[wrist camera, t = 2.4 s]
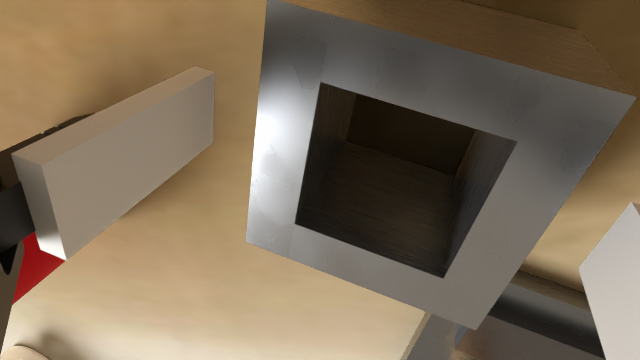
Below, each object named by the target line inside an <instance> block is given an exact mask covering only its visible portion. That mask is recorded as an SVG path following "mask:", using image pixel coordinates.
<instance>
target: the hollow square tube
mask: <svg viewBox="0 0 640 360" xmlns="http://www.w3.org/2000/svg"><path fill="white" fill-rule="evenodd" d="M357 93H359V94H362V95H365V96H369V97H372V98H375V99H378V100H382V101H385V102H388V103H392V104H395V105H398V106H402V107H405V108H408V109H412V110H415V111H418V112H422V113H425V114H428V115H431V116H435V117H438V118H441V119H445V120H448V121H451V122H455V123H458V124H461V125H465V126H468V127H471V128H475V129H476V130H475V132H474V134H473V136H472V139H471V141H470V143H469V145H468V147H467V150H466V152H465V154H464V156H463V158H462V160H461V163H460V165H459V167H458V169H457V171H456V174H455V176H453V175H450V174H446V173H443V172H440V171H437V170H434V169H431V168H428V167H425V166H422V165H419V164H416V163H413V162H409V161H406V160H403V159H400V158H397V157H394V156H391V155H388V154H385V153H382V152H379V151H376V150H372V149H369V148H366V147H363V146H360V145H357V144H354V143H351V142H348V141H346V137H347V132H348V128H349V124H350V120H351V116H352V112H353V108H354V104H355V100H356V96H357ZM636 99H637V96H636V95H635V94H634V93H633V92H632V91H631V90H630V88H629V87H628V86H627V85H626V84H625V83H624V82H623V80H622V79H621V78H620V77H619V76H618V75H617V74H616V72H615V71H614V70H613V69H612V68H611V67H610V66H609V64H608V63H607V62H606V61H605V60H604V59H603V58H602V56H601V55H600V54H599V53H598V52H597V51H596V50H595V48H594V47H593V46H592V45H591V44H590V43H589V42H588V40H587V39H586V38H585V37H584V36H583V35H582V34H581V32H580V31H579V30H575V29H572V28H568V27H564V26H560V25H556V24H552V23H548V22H544V21H540V20H536V19H532V18H528V17H524V16H520V15H516V14H512V13H508V12H504V11H500V10H496V9H492V8H488V7H484V6H480V5H476V4H472V3H468V2H464V1H460V0H267V7H266V18H265V30H264V41H263V52H262V64H261V75H260V86H259V98H258V109H257V120H256V132H255V143H254V154H253V166H252V177H251V188H250V200H249V211H248V222H247V234H246V242H247V243H250V244H253V245H255V246H258V247H260V248H263V249H265V250H268V251H271V252H273V253H276V254H278V255H281V256H284V257H286V258H289V259H291V260H294V261H297V262H299V263H302V264H304V265H307V266H310V267H312V268H315V269H317V270H320V271H323V272H325V273H328V274H330V275H333V276H336V277H338V278H341V279H343V280H346V281H348V282H351V283H354V284H356V285H359V286H361V287H364V288H367V289H369V290H372V291H374V292H377V293H380V294H382V295H385V296H387V297H390V298H393V299H395V300H398V301H400V302H403V303H406V304H408V305H411V306H413V307H416V308H419V309H421V310H424V311H426V312H429V313H431V314H434V315H437V316H439V317H442V318H444V319H447V320H450V321H452V322H455V323H457V324H460V325H463V326H465V327H468V328H470V329H473V330H477V328H478V327H479V325H480V324H481V322H482V321H483V320H484V318H485V317H486V315H487V314H488V312H489V311H490V309H491V308H492V307H493V305H494V304H495V302H496V301H497V299H498V298H499V296H500V295H501V294H502V292H503V291H504V289H505V288H506V286H507V285H508V283H509V282H510V281H511V279H512V278H513V276H514V275H515V273H516V272H517V270H518V269H519V268H520V266H521V265H522V263H523V262H524V260H525V259H526V257H527V256H528V255H529V253H530V252H531V250H532V249H533V247H534V246H535V244H536V243H537V242H538V240H539V239H540V237H541V236H542V234H543V233H544V231H545V230H546V229H547V227H548V226H549V224H550V223H551V221H552V220H553V218H554V217H555V216H556V214H557V213H558V211H559V210H560V208H561V207H562V205H563V204H564V203H565V201H566V200H567V198H568V197H569V195H570V194H571V192H572V191H573V190H574V188H575V187H576V185H577V184H578V182H579V181H580V179H581V178H582V177H583V175H584V174H585V172H586V171H587V169H588V168H589V166H590V165H591V164H592V162H593V161H594V159H595V158H596V156H597V155H598V153H599V152H600V151H601V149H602V148H603V146H604V145H605V143H606V142H607V140H608V139H609V138H610V136H611V135H612V133H613V132H614V130H615V129H616V127H617V126H618V125H619V123H620V122H621V120H622V119H623V117H624V116H625V114H626V113H627V112H628V110H629V109H630V107H631V106H632V104H633V103H634V101H635V100H636Z"/></svg>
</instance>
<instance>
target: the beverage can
mask: <svg viewBox="0 0 640 360" xmlns="http://www.w3.org/2000/svg"><path fill="white" fill-rule="evenodd" d="M22 241H23V244H24V256H23V260H22V264H21V268H20V273H19V277H18V281H17V286H16V290H15V294H14V298H13V303H12V305H13V304H14V303H15V302H16V301H18V300H19V299H20V298H21V297H22V296H24V295H25V294H26V293H27V292H28V291H30V290H31V289H32V288H33V287H35V286H36V285H37V284H38V283H39V282H41V281H42V280H43V279H44V278H45V277H47V276H48V275H49V274H50V273H51V272H53V271H54V270H55V269H56V268H57V267H59V266H60V265H61V264H62V263H64V262H65V261H66V260H64V259H62V258H59V257H57V256H54V255H52V254H50V253H47V252H45V251H43V250H40V247H39V244H38V240H37V237H36V234H35V232H33V233H32V234H30V235H29V236H27V237H26V238H24V239H23V240H22Z"/></svg>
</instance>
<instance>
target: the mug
mask: <svg viewBox="0 0 640 360" xmlns="http://www.w3.org/2000/svg"><path fill="white" fill-rule="evenodd" d="M0 360H49V359H48V358H46V357H45V356H43V355H42V354H40V353H38V352H37V351H35V350H33V349H30V348H28V347H25V346H13V347H10V348H8V349H7V350H6V351H4V352H3V353H2V354H1V355H0Z"/></svg>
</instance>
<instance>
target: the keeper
mask: <svg viewBox="0 0 640 360" xmlns="http://www.w3.org/2000/svg"><path fill="white" fill-rule="evenodd" d="M401 360H606V358H605V354H604V351H603V348H602V345H601V341H600V338H599V335H598V331H597V328H596V325H595V322H594V318H593V315H592V312H591V309H590V305H589V302H588V299H587V295H586V294H584V293H581V292H578V291H575V290H573V289H570V288H567V287H564V286H561V285H559V284H556V283H553V282H550V281H547V280H544V279H542V278H539V277H536V276H533V275H530V274H527V273H525V272H522V271H519V270H517V272H516V273H515V275H514V276H513V278H512V279H511V281H510V282H509V283H508V285H507V286H506V288H505V289H504V291H503V292H502V294H501V295H500V296H499V298H498V299H497V301H496V302H495V304H494V305H493V307H492V308H491V309H490V311H489V312H488V314H487V315H486V317H485V318H484V320H483V321H482V322H481V324H480V325H479V327H478V328H477V330H473V329H470V328H468V327H465V326H463V325H460V324H457V323H455V322H452V321H450V320H447V319H444V318H442V317H439V316H437V315H434V314H431V313H429V312H426V313H425V315H424V317H423V319H422V321H421V323H420V325H419V326H418V328H417V330H416V332H415V334H414V336H413V338H412V339H411V341H410V343H409V345H408V347H407V349H406V350H405V352H404V354H403V356H402V358H401Z"/></svg>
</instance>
